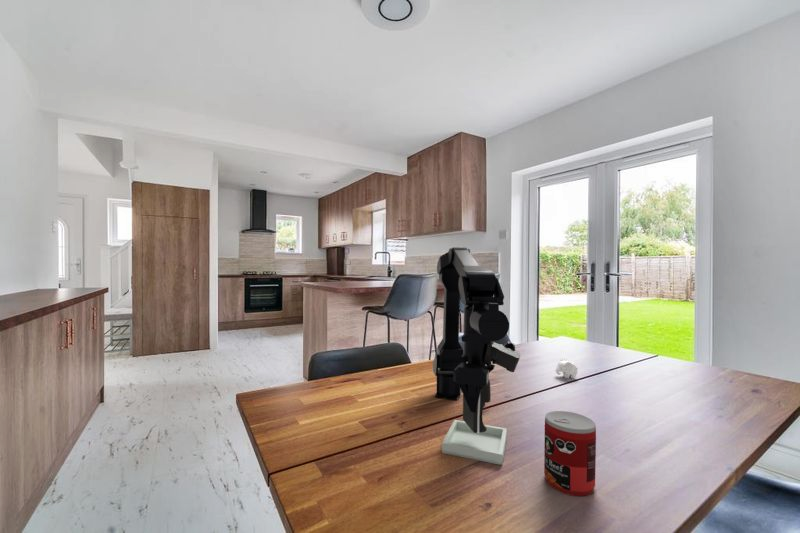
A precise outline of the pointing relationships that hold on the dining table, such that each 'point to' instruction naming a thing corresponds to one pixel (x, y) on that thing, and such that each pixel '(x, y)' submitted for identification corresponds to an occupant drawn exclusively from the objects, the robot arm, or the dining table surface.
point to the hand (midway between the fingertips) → (476, 405)
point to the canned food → (570, 452)
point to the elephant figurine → (566, 368)
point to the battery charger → (476, 418)
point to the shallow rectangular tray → (476, 443)
